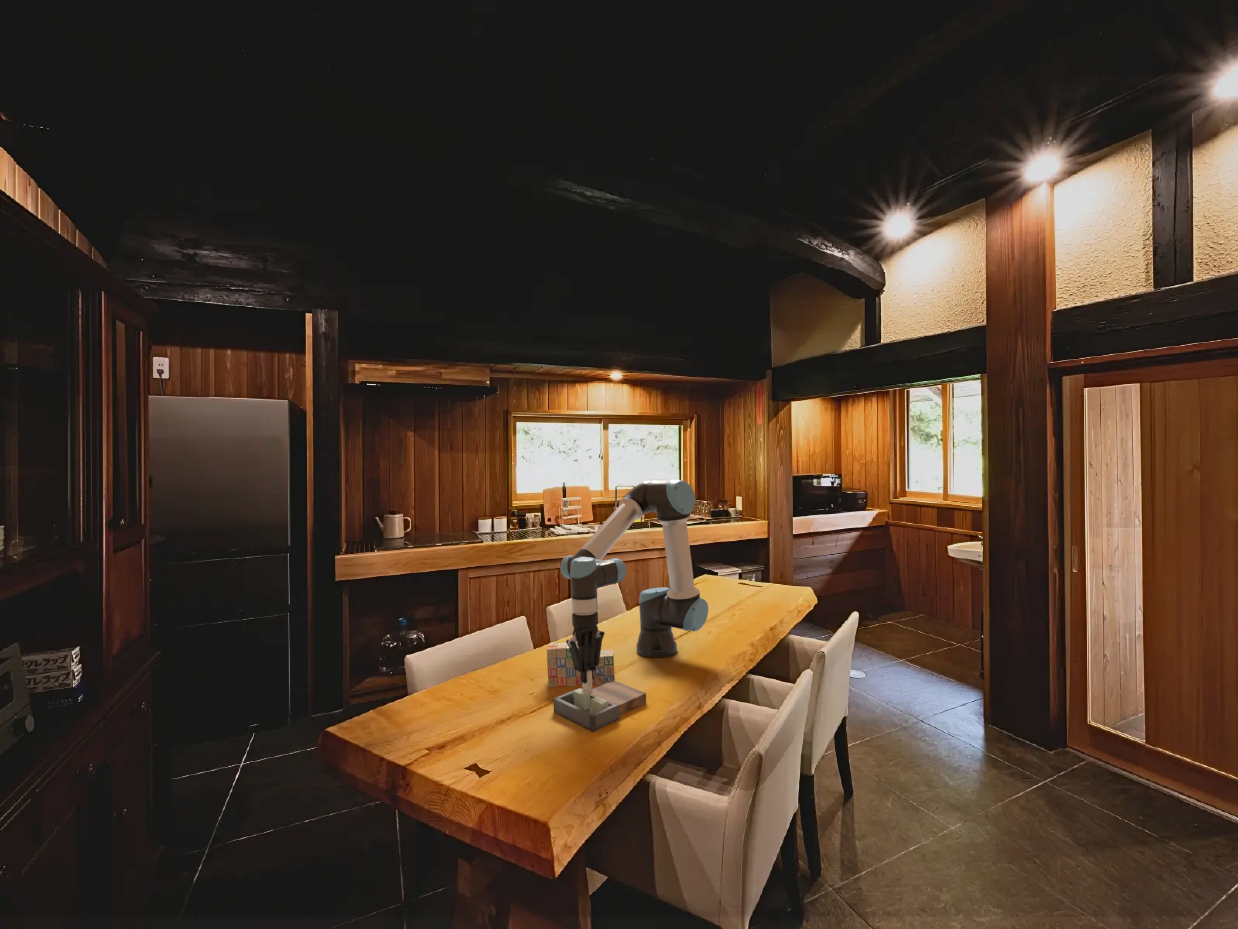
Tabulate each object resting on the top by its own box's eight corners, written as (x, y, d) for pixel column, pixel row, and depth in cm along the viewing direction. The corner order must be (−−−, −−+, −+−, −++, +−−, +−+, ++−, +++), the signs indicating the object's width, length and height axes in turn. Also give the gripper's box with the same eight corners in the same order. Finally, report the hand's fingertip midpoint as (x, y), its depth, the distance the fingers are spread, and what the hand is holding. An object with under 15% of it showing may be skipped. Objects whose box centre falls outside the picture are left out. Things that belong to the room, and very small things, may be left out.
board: (613, 690, 170) (613, 680, 170) (646, 703, 160) (645, 693, 160) (584, 702, 162) (583, 692, 162) (616, 717, 151) (616, 706, 151)
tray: (580, 701, 163) (579, 688, 163) (619, 719, 150) (619, 704, 150) (553, 712, 156) (553, 698, 156) (592, 732, 144) (592, 717, 144)
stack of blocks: (615, 677, 180) (613, 640, 180) (614, 685, 174) (613, 646, 174) (550, 679, 181) (549, 642, 181) (547, 687, 174) (546, 648, 174)
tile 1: (580, 688, 160) (573, 690, 158) (590, 692, 156) (583, 695, 155) (580, 703, 160) (573, 706, 158) (590, 708, 156) (583, 711, 155)
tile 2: (597, 696, 154) (590, 699, 152) (608, 701, 150) (601, 704, 149) (597, 712, 154) (591, 715, 152) (608, 717, 150) (601, 720, 149)
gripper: (593, 605, 166) (596, 682, 166) (559, 614, 157) (561, 696, 157) (610, 609, 161) (612, 689, 161) (575, 619, 152) (578, 703, 152)
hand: (587, 692), depth 159 cm, fingers closed
